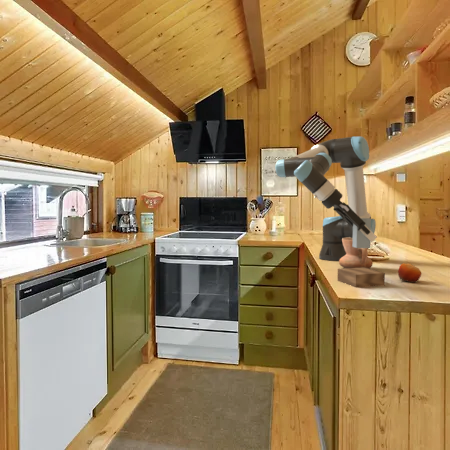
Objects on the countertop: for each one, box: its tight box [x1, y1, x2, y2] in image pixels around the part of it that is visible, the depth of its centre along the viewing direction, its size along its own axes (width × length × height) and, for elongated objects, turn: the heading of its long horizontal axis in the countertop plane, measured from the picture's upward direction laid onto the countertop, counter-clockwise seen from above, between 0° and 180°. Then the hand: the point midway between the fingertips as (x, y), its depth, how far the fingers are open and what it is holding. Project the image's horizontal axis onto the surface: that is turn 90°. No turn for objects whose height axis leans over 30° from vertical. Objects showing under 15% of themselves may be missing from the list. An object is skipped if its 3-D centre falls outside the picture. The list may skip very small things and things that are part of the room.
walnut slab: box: [337, 267, 386, 288], centre depth 137 cm, size 12×12×5 cm
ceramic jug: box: [338, 237, 374, 269], centre depth 164 cm, size 18×14×14 cm
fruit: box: [397, 262, 422, 283], centre depth 139 cm, size 8×8×8 cm
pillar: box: [352, 218, 372, 249], centre depth 136 cm, size 5×5×11 cm
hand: (371, 238), depth 136 cm, fingers closed on pillar, 5 cm apart
